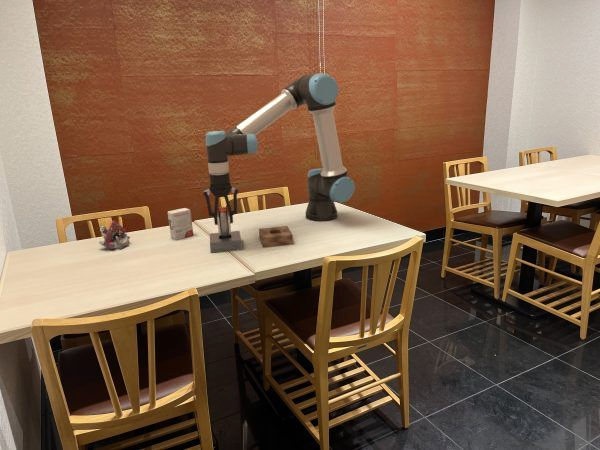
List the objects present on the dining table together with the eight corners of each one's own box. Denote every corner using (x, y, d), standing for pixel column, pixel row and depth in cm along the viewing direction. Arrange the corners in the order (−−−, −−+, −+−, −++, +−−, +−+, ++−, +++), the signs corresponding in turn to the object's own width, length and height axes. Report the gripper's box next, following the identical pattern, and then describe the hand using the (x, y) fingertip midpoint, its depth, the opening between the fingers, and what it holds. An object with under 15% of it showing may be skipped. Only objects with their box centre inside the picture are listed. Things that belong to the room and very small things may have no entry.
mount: (287, 235, 186) (287, 226, 185) (292, 244, 175) (292, 234, 174) (259, 237, 184) (258, 228, 183) (262, 247, 173) (262, 237, 171)
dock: (240, 239, 183) (239, 230, 181) (242, 249, 171) (241, 239, 170) (210, 242, 180) (209, 233, 179) (210, 253, 169) (209, 243, 168)
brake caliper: (119, 247, 173) (101, 222, 172) (105, 260, 178) (87, 236, 178) (139, 238, 183) (122, 214, 183) (125, 251, 188) (108, 228, 188)
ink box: (188, 233, 194) (185, 207, 191) (194, 235, 190) (191, 209, 187) (170, 237, 189) (166, 211, 185) (175, 240, 185) (171, 213, 182)
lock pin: (230, 243, 178) (226, 206, 173) (230, 246, 174) (227, 208, 170) (221, 244, 177) (217, 207, 172) (221, 247, 174) (218, 209, 169)
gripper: (240, 169, 172) (244, 227, 179) (197, 172, 169) (203, 231, 176) (241, 173, 165) (246, 232, 172) (196, 176, 162) (203, 236, 169)
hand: (224, 231), depth 174 cm, fingers closed on lock pin, 3 cm apart
